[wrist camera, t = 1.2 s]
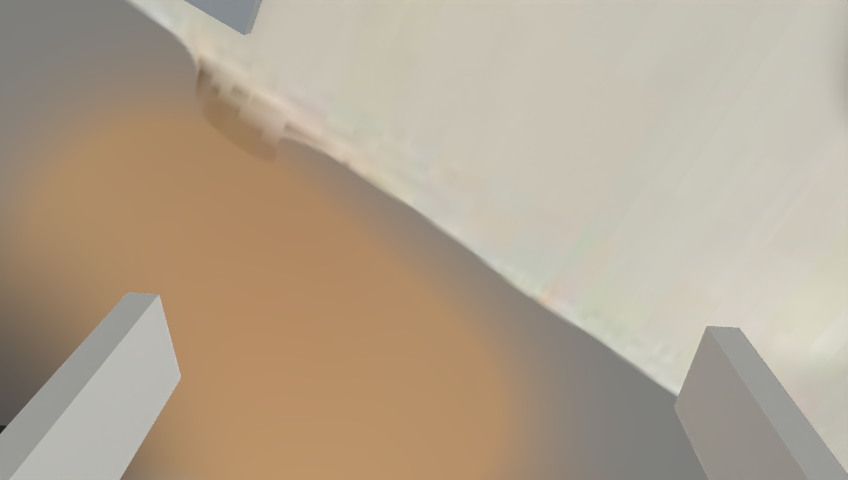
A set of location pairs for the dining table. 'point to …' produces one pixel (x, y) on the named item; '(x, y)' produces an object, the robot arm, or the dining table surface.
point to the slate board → (231, 12)
